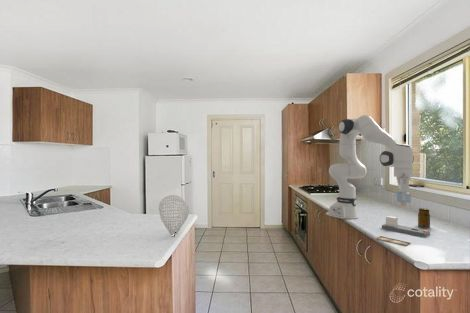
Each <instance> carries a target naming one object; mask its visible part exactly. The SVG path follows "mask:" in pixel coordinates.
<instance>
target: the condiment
mask: <svg viewBox="0 0 470 313" xmlns="http://www.w3.org/2000/svg"><path fill="white" fill-rule="evenodd" d="M418 227H419V228H421V229H430V228H431V213H430V209H429V208H421V207H420V208H418V214H417V228H418Z"/></svg>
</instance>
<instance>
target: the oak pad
mask: <svg viewBox="0 0 470 313" xmlns="http://www.w3.org/2000/svg"><path fill="white" fill-rule="evenodd" d="M376 240H379V241H383V242H387V243H391V244H396V245H399V246H405V247H407V246H408V245H410V244H411V242H408V241H404V240H399V239H397V238H396V239H395V238H391V237H386V236H381V235H380V236H378V237H376Z"/></svg>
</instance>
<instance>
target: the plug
mask: <svg viewBox="0 0 470 313" xmlns="http://www.w3.org/2000/svg"><path fill="white" fill-rule="evenodd" d="M398 219H399V218H398V216H392V215H387V216H385V224H386V225H388V226H393V227H396V226H398V225H399V224H398V223H399V222H398Z"/></svg>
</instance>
